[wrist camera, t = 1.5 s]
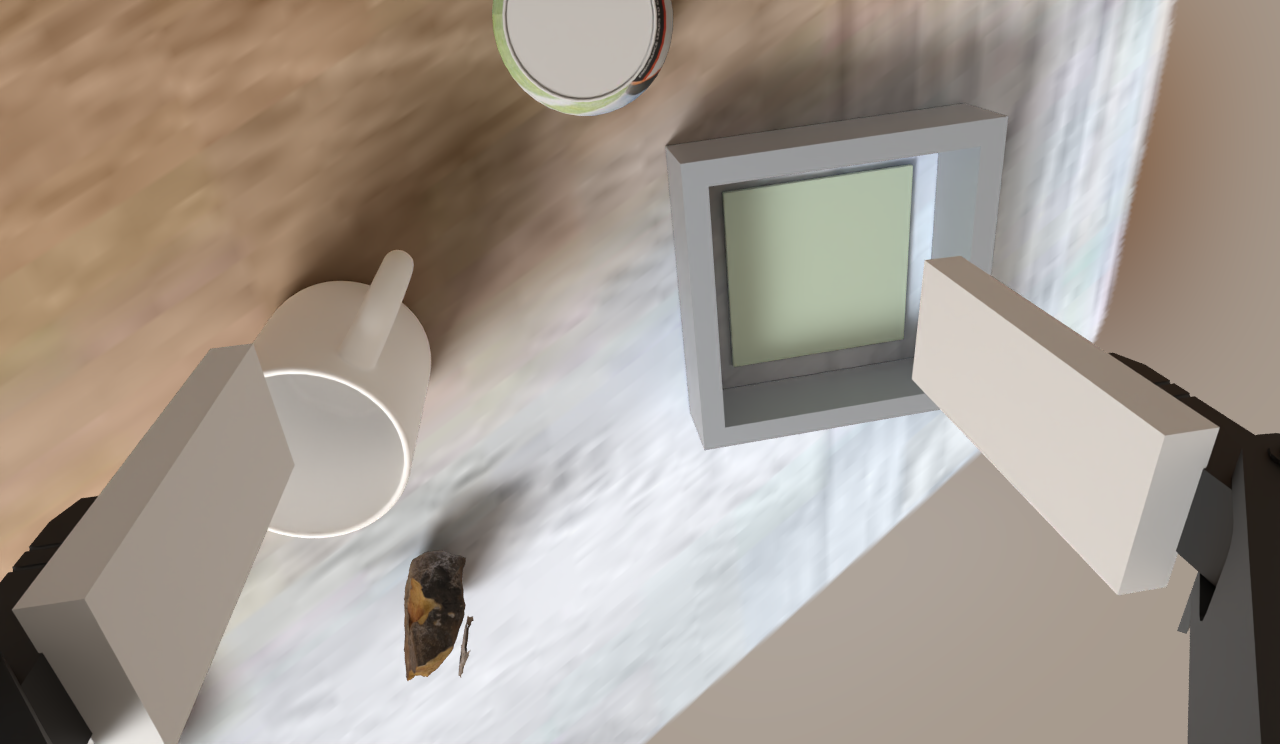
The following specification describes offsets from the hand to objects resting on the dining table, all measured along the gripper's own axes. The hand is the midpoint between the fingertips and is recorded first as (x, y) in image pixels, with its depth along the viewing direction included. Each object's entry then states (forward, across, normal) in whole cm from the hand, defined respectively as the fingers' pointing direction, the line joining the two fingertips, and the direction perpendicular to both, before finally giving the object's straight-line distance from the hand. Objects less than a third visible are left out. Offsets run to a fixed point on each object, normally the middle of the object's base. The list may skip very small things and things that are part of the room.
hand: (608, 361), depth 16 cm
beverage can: (+25, +2, +5) cm, 26 cm away
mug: (+25, -11, -9) cm, 29 cm away
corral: (+25, +13, -9) cm, 29 cm away
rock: (+25, -10, -25) cm, 36 cm away
